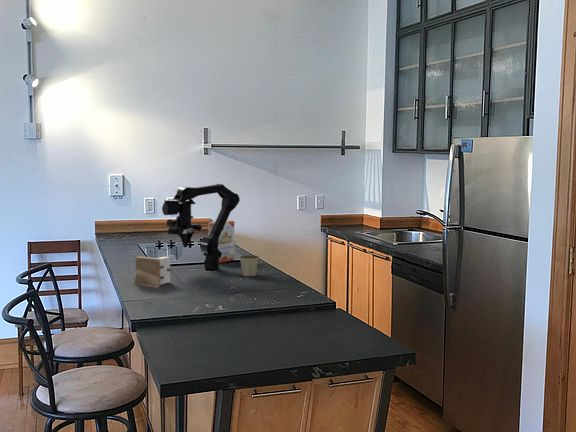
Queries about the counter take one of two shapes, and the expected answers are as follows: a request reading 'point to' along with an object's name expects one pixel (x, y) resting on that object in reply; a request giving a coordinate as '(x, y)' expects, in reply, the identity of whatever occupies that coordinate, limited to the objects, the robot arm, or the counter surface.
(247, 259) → the flower pot
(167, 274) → the door panel
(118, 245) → the counter surface
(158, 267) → the cabinet corner
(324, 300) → the counter surface
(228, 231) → the cracker box
